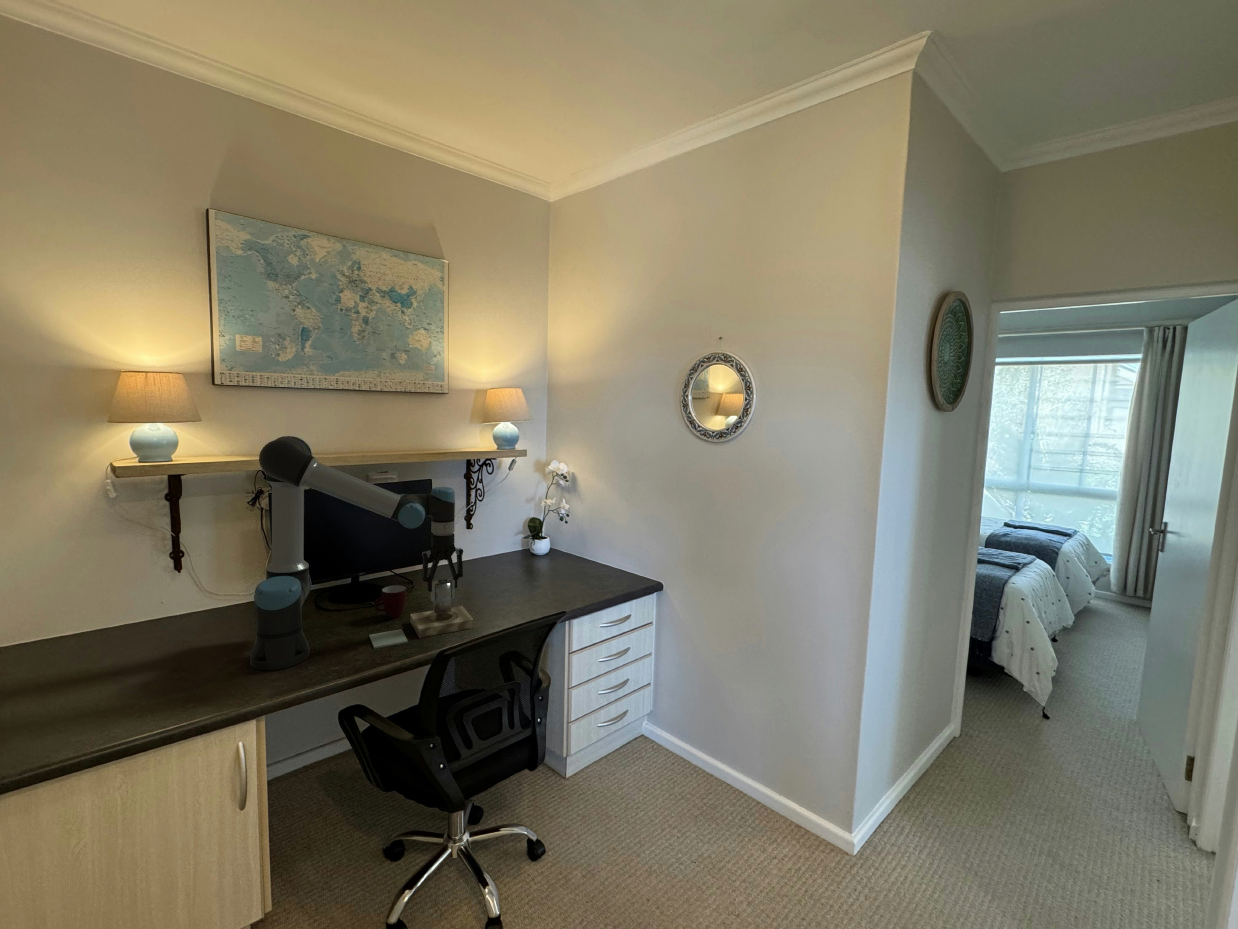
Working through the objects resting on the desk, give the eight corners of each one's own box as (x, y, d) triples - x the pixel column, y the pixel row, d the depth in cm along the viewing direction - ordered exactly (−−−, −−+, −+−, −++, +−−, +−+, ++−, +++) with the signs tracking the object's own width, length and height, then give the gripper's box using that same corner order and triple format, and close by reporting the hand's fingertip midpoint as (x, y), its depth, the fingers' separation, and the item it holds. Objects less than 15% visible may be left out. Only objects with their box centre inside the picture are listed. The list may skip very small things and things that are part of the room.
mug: (378, 623, 198) (377, 595, 196) (372, 616, 204) (371, 589, 203) (409, 617, 204) (409, 590, 203) (402, 610, 210) (402, 583, 209)
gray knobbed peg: (435, 614, 194) (435, 583, 193) (431, 608, 199) (431, 577, 198) (453, 612, 197) (453, 580, 196) (448, 606, 202) (449, 575, 201)
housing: (419, 637, 188) (419, 629, 188) (410, 622, 200) (410, 614, 199) (473, 627, 197) (473, 619, 197) (461, 613, 209) (461, 605, 209)
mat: (374, 648, 179) (374, 646, 179) (369, 636, 187) (369, 634, 187) (407, 642, 184) (407, 640, 184) (401, 631, 193) (401, 629, 193)
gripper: (416, 538, 187) (416, 606, 189) (473, 533, 196) (472, 598, 199) (411, 532, 193) (411, 599, 196) (467, 528, 203) (466, 591, 206)
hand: (442, 598), depth 197 cm, fingers closed on gray knobbed peg, 6 cm apart
